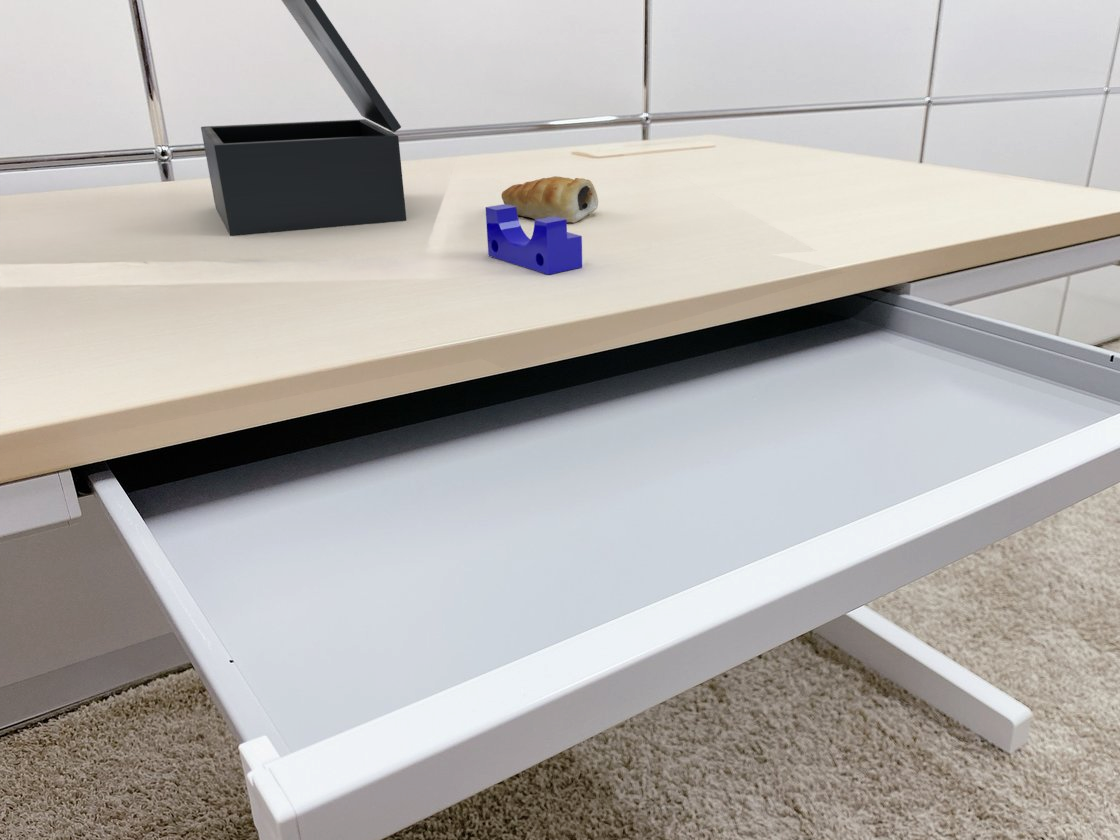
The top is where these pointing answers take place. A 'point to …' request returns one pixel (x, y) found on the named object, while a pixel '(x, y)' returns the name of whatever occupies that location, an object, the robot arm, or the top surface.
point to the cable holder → (532, 241)
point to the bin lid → (341, 62)
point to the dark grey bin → (304, 175)
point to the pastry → (553, 198)
